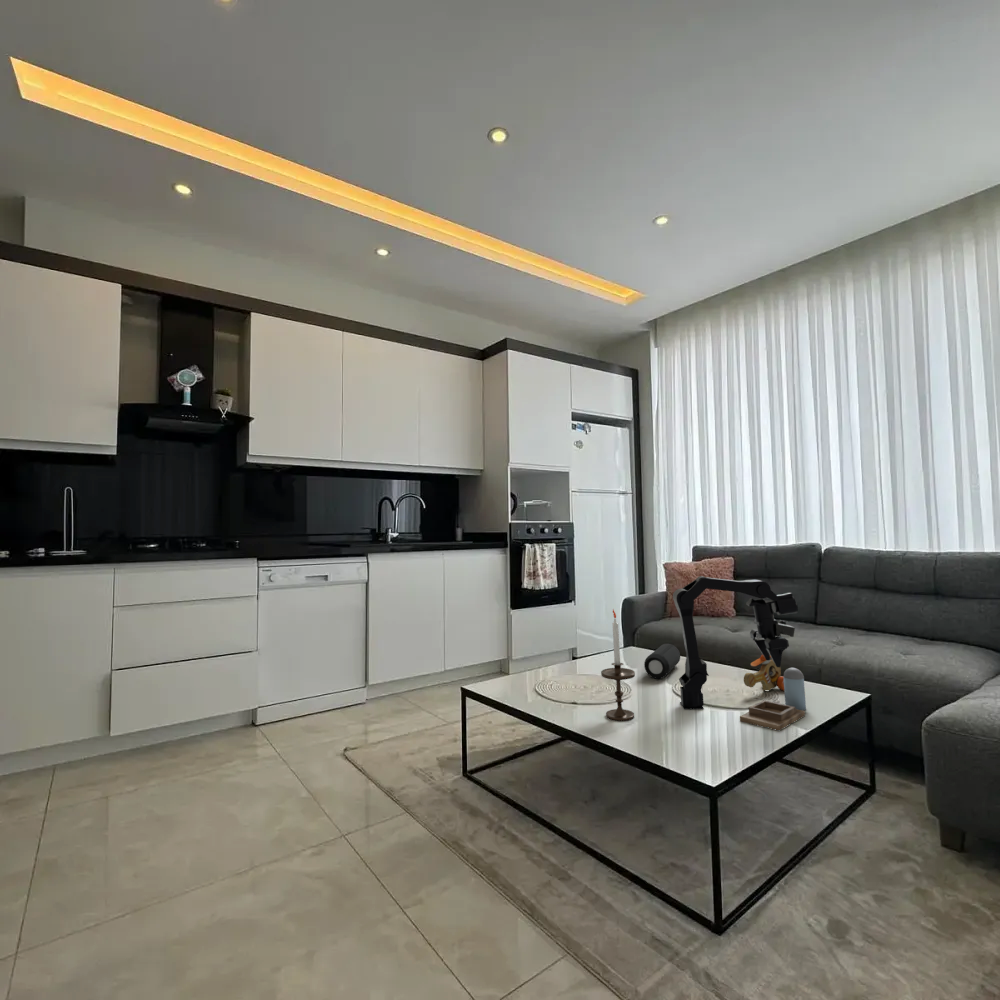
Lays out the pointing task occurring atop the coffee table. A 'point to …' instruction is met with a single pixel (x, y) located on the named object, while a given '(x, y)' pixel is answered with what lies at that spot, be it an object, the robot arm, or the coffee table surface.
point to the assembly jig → (771, 715)
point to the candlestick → (618, 679)
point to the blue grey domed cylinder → (794, 688)
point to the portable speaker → (662, 661)
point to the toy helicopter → (765, 675)
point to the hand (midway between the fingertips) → (773, 663)
